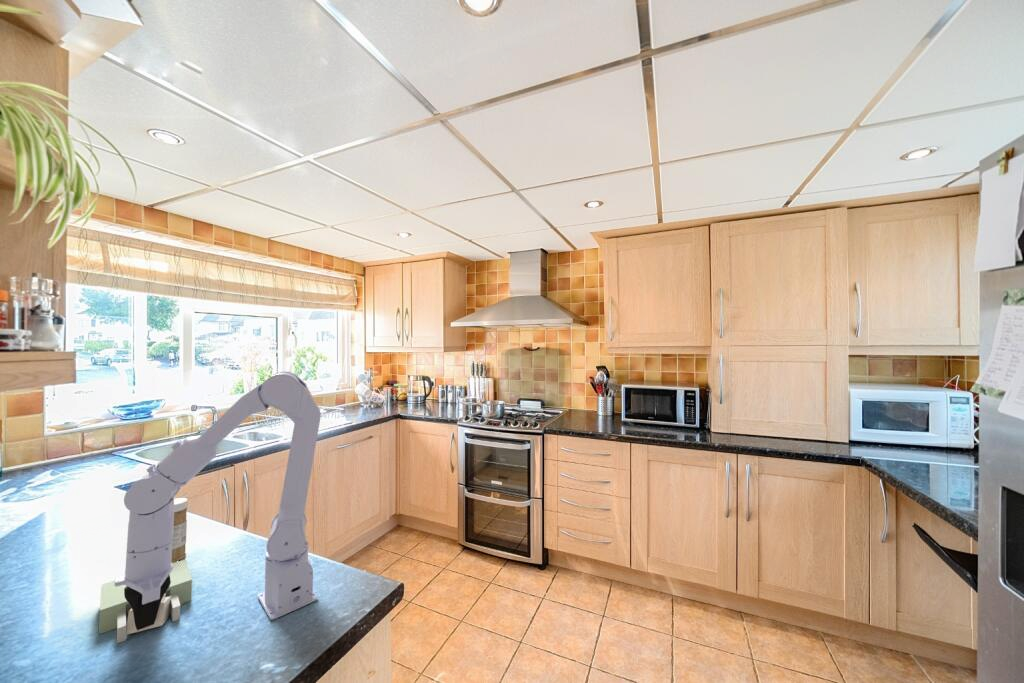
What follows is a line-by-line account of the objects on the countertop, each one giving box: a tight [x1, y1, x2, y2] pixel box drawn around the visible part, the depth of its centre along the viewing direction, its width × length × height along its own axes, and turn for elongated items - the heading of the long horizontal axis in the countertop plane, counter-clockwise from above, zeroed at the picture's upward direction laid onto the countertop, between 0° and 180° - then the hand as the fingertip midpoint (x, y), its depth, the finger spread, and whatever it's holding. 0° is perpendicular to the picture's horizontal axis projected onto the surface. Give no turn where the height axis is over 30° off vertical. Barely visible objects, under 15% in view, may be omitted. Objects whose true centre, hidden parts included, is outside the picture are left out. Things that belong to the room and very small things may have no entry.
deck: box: [98, 559, 193, 644], centre depth 70 cm, size 15×12×4 cm
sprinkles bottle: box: [171, 497, 189, 563], centre depth 86 cm, size 5×5×13 cm
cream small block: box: [126, 593, 171, 636], centre depth 66 cm, size 4×5×4 cm
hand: (145, 625), depth 64 cm, fingers closed, pressing on cream small block
